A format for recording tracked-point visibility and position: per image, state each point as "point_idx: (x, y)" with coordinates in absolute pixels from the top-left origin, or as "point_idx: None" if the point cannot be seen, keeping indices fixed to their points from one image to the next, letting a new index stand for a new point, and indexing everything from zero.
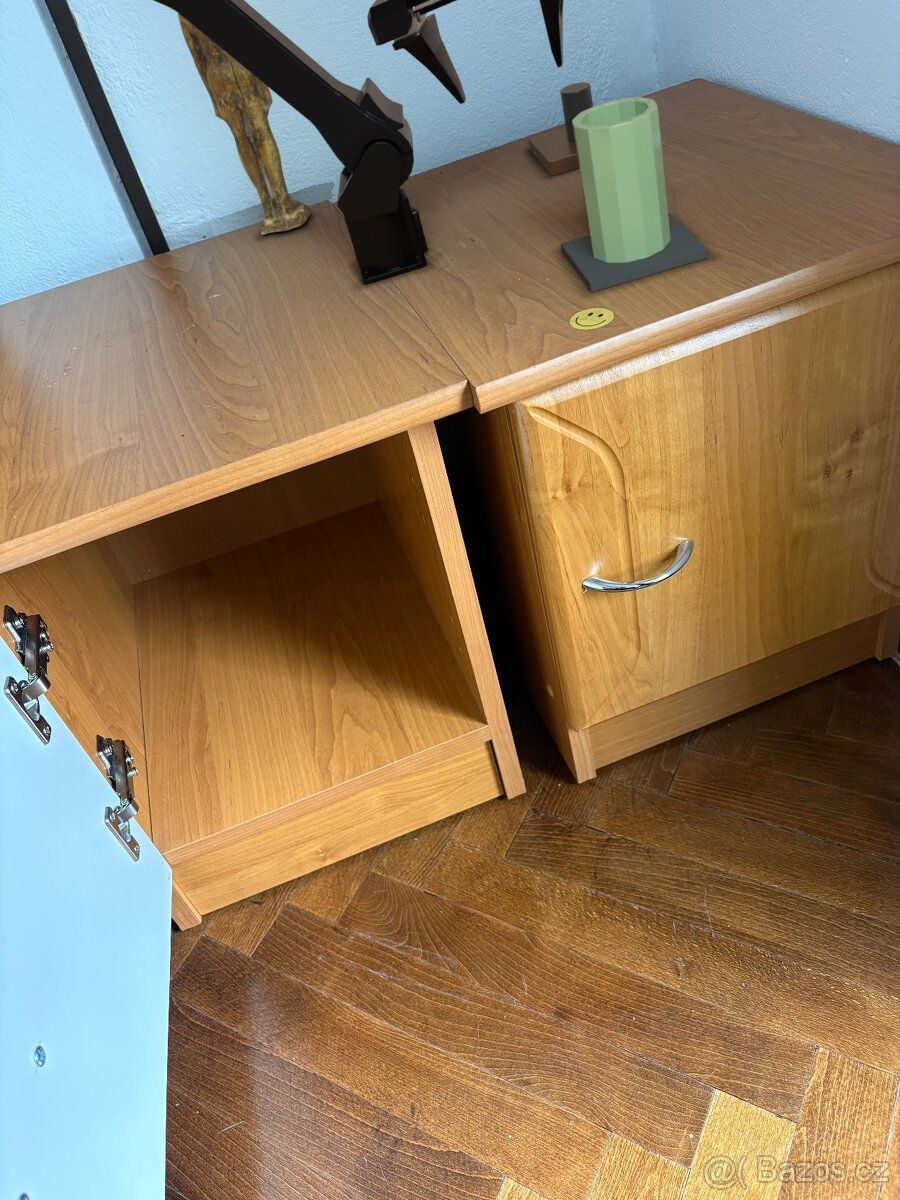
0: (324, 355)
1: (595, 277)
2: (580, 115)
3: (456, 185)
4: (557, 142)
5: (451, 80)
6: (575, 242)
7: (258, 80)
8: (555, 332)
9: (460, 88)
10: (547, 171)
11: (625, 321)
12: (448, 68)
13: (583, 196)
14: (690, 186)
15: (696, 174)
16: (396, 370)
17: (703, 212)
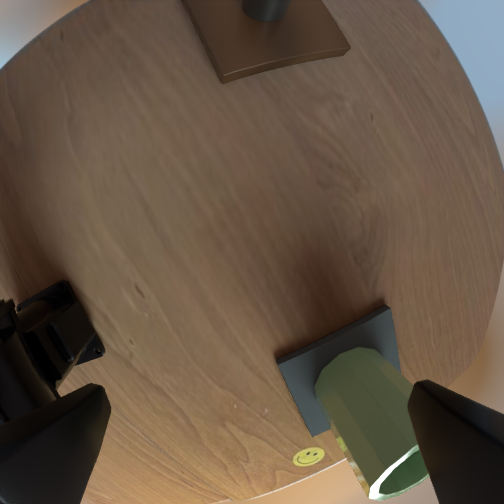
0: (99, 462)
1: (316, 429)
2: (383, 477)
3: (78, 74)
4: (227, 11)
5: (89, 475)
6: (295, 366)
7: None
8: (283, 469)
9: (93, 423)
10: (213, 64)
11: (331, 457)
12: (65, 482)
13: (334, 424)
14: (408, 215)
15: (413, 180)
16: (171, 488)
17: (413, 294)
